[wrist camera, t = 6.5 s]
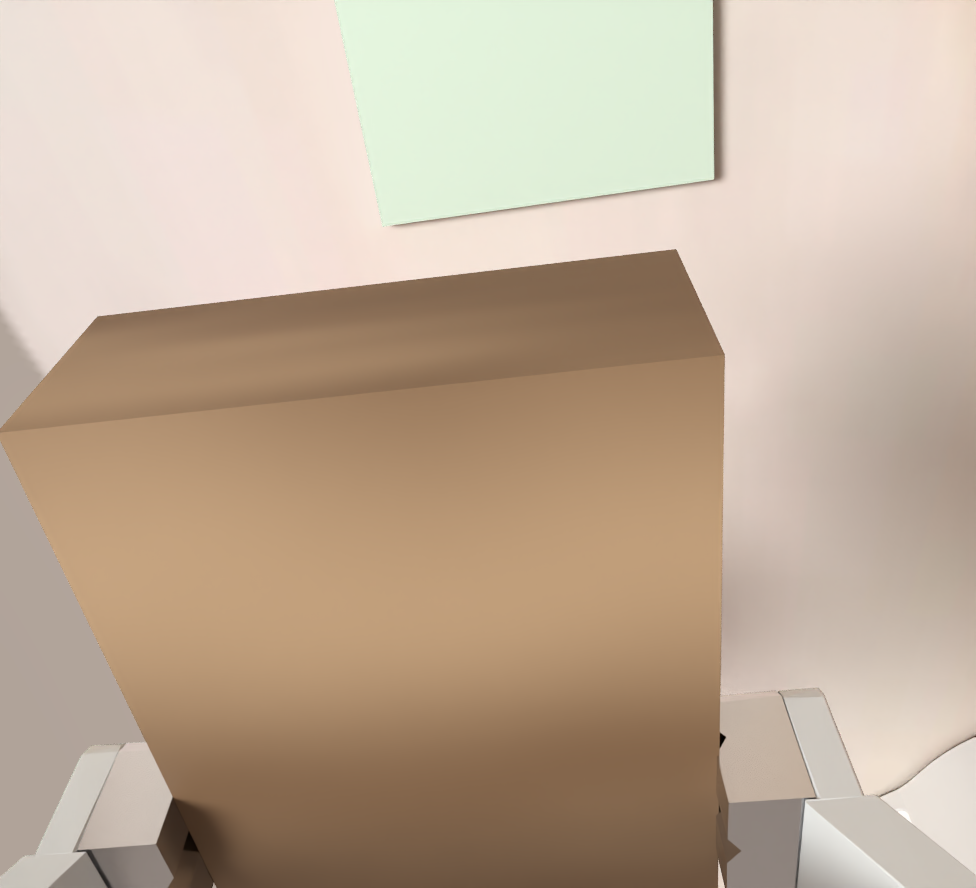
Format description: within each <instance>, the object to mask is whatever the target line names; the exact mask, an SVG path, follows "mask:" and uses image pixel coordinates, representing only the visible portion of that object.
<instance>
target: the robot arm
mask: <svg viewBox="0 0 976 888" xmlns="http://www.w3.org/2000/svg"><path fill="white" fill-rule="evenodd" d="M716 794H717V798H718V802H719V813H718V814H717V815H716V851H717V855H718V859H719V864H720V868H721V872H722V877H723V881H724V885H725V888H976V737H974V738H972V739H970V740H968V741H966V742H964V743H962V744H960V745H958V746H956V747H954V748H953V749H951V750H949V751H948V752H946V753H944V754H943V755H941V756H940V757H939V758H937V759H936V760H934V761H933V762H932V763H930V764H929V765H928V766H927V767H926V768H924V769H923V770H922V771H921V772H920V773H919V774H917V775H916V776H915V777H914V778H913V779H912V780H910V781H909V782H908V783H906V784H905V785H904V786H902V787H901V788H899V789H897V790H895V791H893V792H890V793H888V794H886V795H884V796H882V797H878V796H877V795H864V794H863V791H862V789H861V786H860V784H859V781H858V779H857V776H856V774H855V771H854V768H853V766H852V763H851V761H850V758H849V756H848V753H847V751H846V748H845V746H844V743H843V741H842V738H841V736H840V733H839V731H838V728H837V726H836V723H835V721H834V718H833V716H832V713H831V711H830V708H829V706H828V703H827V701H826V698H825V696H824V693H823V692H822V691H821V690H820V689H819V688H808V689H796V690H784V691H778V692H777V691H766V692H755V693H744V694H733V695H723V696H720V754H719V756H717V776H716ZM213 883H214V881H213V879H212V877H211V875H210V873H209V871H208V869H207V867H206V865H205V863H204V861H203V859H202V857H201V854H200V852H199V850H198V848H197V846H196V844H195V842H194V840H193V838H192V836H191V834H190V832H189V830H188V828H187V826H186V823H185V821H184V819H183V817H182V815H181V813H180V811H179V809H178V807H177V805H176V803H175V801H174V799H173V797H172V795H171V792H170V790H169V788H168V786H167V784H166V782H165V780H164V778H163V776H162V774H161V772H160V770H159V768H158V766H157V764H156V761H155V759H154V757H153V755H152V753H151V751H150V749H149V747H148V745H147V743H146V742H135V743H123V744H107V745H92V746H90V747H89V748H88V749H87V750H86V751H85V752H84V753H83V754H82V756H81V757H80V759H79V761H78V763H77V766H76V768H75V770H74V772H73V774H72V776H71V778H70V781H69V783H68V785H67V787H66V789H65V791H64V793H63V796H62V798H61V800H60V802H59V804H58V806H57V809H56V811H55V813H54V815H53V817H52V819H51V821H50V823H49V826H48V828H47V830H46V832H45V834H44V836H43V838H42V841H41V843H40V845H39V847H38V849H37V851H36V853H35V855H29V856H24V857H22V858H21V859H20V860H19V861H18V862H17V863H16V864H14V865H13V866H12V867H11V868H10V869H9V870H8V871H7V872H6V873H4V874H3V875H2V876H1V877H0V888H212V886H213Z"/></svg>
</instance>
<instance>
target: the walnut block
mask: <svg viewBox="0 0 976 888" xmlns="http://www.w3.org/2000/svg"><path fill="white" fill-rule="evenodd" d="M724 367H725V354H724V352H723V350H722V348H721V346H720V343H719V341H718V339H717V337H716V335H715V333H714V330H713V328H712V326H711V324H710V322H709V320H708V317H707V315H706V313H705V311H704V309H703V307H702V304H701V302H700V300H699V298H698V296H697V293H696V291H695V289H694V287H693V285H692V283H691V280H690V278H689V276H688V274H687V272H686V270H685V267H684V265H683V263H682V261H681V259H680V257H679V254H678V252H677V250H676V249H674V250H666V251H657V252H648V253H640V254H631V255H623V256H614V257H606V258H597V259H588V260H580V261H571V262H563V263H554V264H545V265H537V266H528V267H520V268H511V269H502V270H494V271H485V272H477V273H468V274H459V275H451V276H442V277H434V278H425V279H416V280H408V281H399V282H391V283H382V284H373V285H365V286H356V287H348V288H339V289H330V290H322V291H313V292H305V293H296V294H287V295H279V296H270V297H262V298H253V299H244V300H236V301H227V302H219V303H210V304H201V305H193V306H184V307H176V308H167V309H158V310H150V311H141V312H133V313H124V314H115V315H107V316H98V317H97V318H96V319H95V320H94V321H93V322H92V323H91V325H90V326H89V327H88V328H87V329H86V330H85V332H84V333H83V334H82V335H81V336H80V337H79V338H78V340H77V341H76V342H75V343H74V344H73V345H72V347H71V348H70V349H69V350H68V351H67V352H66V353H65V355H64V356H63V357H62V358H61V359H60V360H59V362H58V363H57V364H56V365H55V366H54V367H53V368H52V370H51V371H50V372H49V373H48V374H47V375H46V377H45V378H44V379H43V380H42V381H41V382H40V383H39V385H38V386H37V387H36V388H35V389H34V390H33V392H32V393H31V394H30V395H29V396H28V397H27V399H26V400H25V401H24V402H23V403H22V404H21V405H20V407H19V408H18V409H17V410H16V411H15V412H14V413H13V415H12V416H11V417H10V418H9V419H8V420H7V422H6V423H5V424H4V425H3V426H2V428H0V441H1V443H2V445H3V447H4V449H5V452H6V454H7V456H8V457H9V460H10V462H11V464H12V466H13V468H14V470H15V472H16V474H17V476H18V478H19V480H20V482H21V485H22V487H23V489H24V491H25V493H26V495H27V497H28V499H29V501H30V503H31V505H32V507H33V509H34V511H35V513H36V516H37V517H38V520H39V522H40V524H41V526H42V528H43V530H44V532H45V534H46V536H47V538H48V540H49V542H50V545H51V546H52V549H53V551H54V553H55V555H56V557H57V559H58V561H59V563H60V565H61V567H62V569H63V571H64V573H65V575H66V577H67V579H68V582H69V584H70V586H71V588H72V590H73V592H74V594H75V596H76V598H77V600H78V602H79V604H80V606H81V608H82V610H83V613H84V615H85V617H86V619H87V621H88V623H89V625H90V627H91V629H92V631H93V633H94V635H95V637H96V639H97V642H98V644H99V646H100V648H101V650H102V652H103V654H104V656H105V658H106V660H107V662H108V664H109V666H110V668H111V670H112V673H113V675H114V677H115V679H116V681H117V683H118V685H119V687H120V689H121V691H122V693H123V695H124V697H125V699H126V702H127V704H128V705H129V708H130V710H131V712H132V714H133V716H134V718H135V720H136V722H137V724H138V726H139V728H140V730H141V732H142V735H143V737H144V739H145V741H146V743H147V745H148V747H149V749H150V751H151V753H152V755H153V757H154V759H155V761H156V764H157V766H158V768H159V770H160V772H161V774H162V776H163V778H164V780H165V782H166V784H167V786H168V788H169V790H170V792H171V795H172V797H173V799H174V801H175V803H176V805H177V807H178V809H179V811H180V813H181V815H182V817H183V819H184V821H185V823H186V826H187V828H188V830H189V832H190V834H191V836H192V838H193V840H194V842H195V844H196V846H197V848H198V850H199V852H200V854H201V857H202V859H203V861H204V863H205V865H206V867H207V869H208V871H209V873H210V875H211V877H212V879H213V881H214V883H215V885H216V887H217V888H718V855H717V851H716V815H717V814H718V813H719V802H718V798H717V794H716V776H717V756H719V754H720V677H721V599H722V522H723V444H724Z"/></svg>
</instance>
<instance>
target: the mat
mask: <svg viewBox="0 0 976 888" xmlns="http://www.w3.org/2000/svg"><path fill="white" fill-rule="evenodd" d="M334 1H335V6H336V10H337V15H338V20H339V24H340V29H341V34H342V38H343V43H344V48H345V53H346V57H347V62H348V67H349V71H350V76H351V81H352V85H353V90H354V95H355V99H356V104H357V109H358V114H359V118H360V123H361V128H362V132H363V137H364V142H365V146H366V151H367V156H368V160H369V165H370V170H371V175H372V179H373V184H374V189H375V193H376V198H377V203H378V207H379V212H380V217H381V221H382V226H383V227H384V226H391V225H398V224H405V223H412V222H419V221H426V220H433V219H440V218H447V217H454V216H461V215H468V214H475V213H482V212H489V211H496V210H503V209H510V208H517V207H524V206H531V205H538V204H545V203H553V202H560V201H567V200H574V199H581V198H588V197H595V196H602V195H609V194H616V193H623V192H630V191H637V190H644V189H651V188H658V187H665V186H672V185H679V184H686V183H693V182H700V181H707V180H714V98H713V0H334Z"/></svg>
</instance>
